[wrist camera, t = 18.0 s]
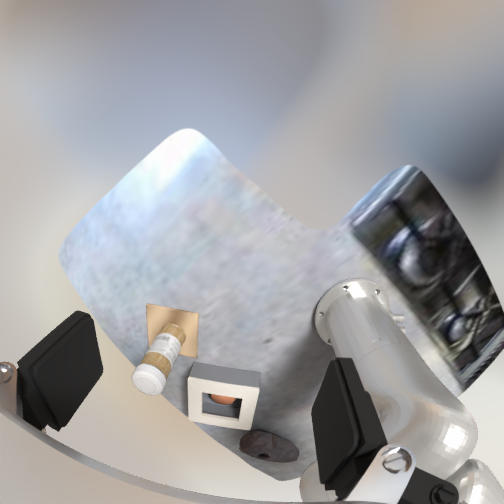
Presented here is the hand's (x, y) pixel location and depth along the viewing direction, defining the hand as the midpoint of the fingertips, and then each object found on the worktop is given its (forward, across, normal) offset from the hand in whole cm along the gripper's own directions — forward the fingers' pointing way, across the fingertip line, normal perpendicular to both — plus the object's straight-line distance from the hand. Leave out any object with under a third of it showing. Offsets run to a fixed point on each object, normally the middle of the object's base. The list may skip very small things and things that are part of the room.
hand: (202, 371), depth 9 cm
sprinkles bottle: (+30, +10, +20) cm, 37 cm away
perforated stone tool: (+31, -11, +47) cm, 57 cm away
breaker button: (+30, +1, +32) cm, 44 cm away
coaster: (+30, +11, +20) cm, 38 cm away
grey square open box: (+30, +1, +32) cm, 44 cm away
